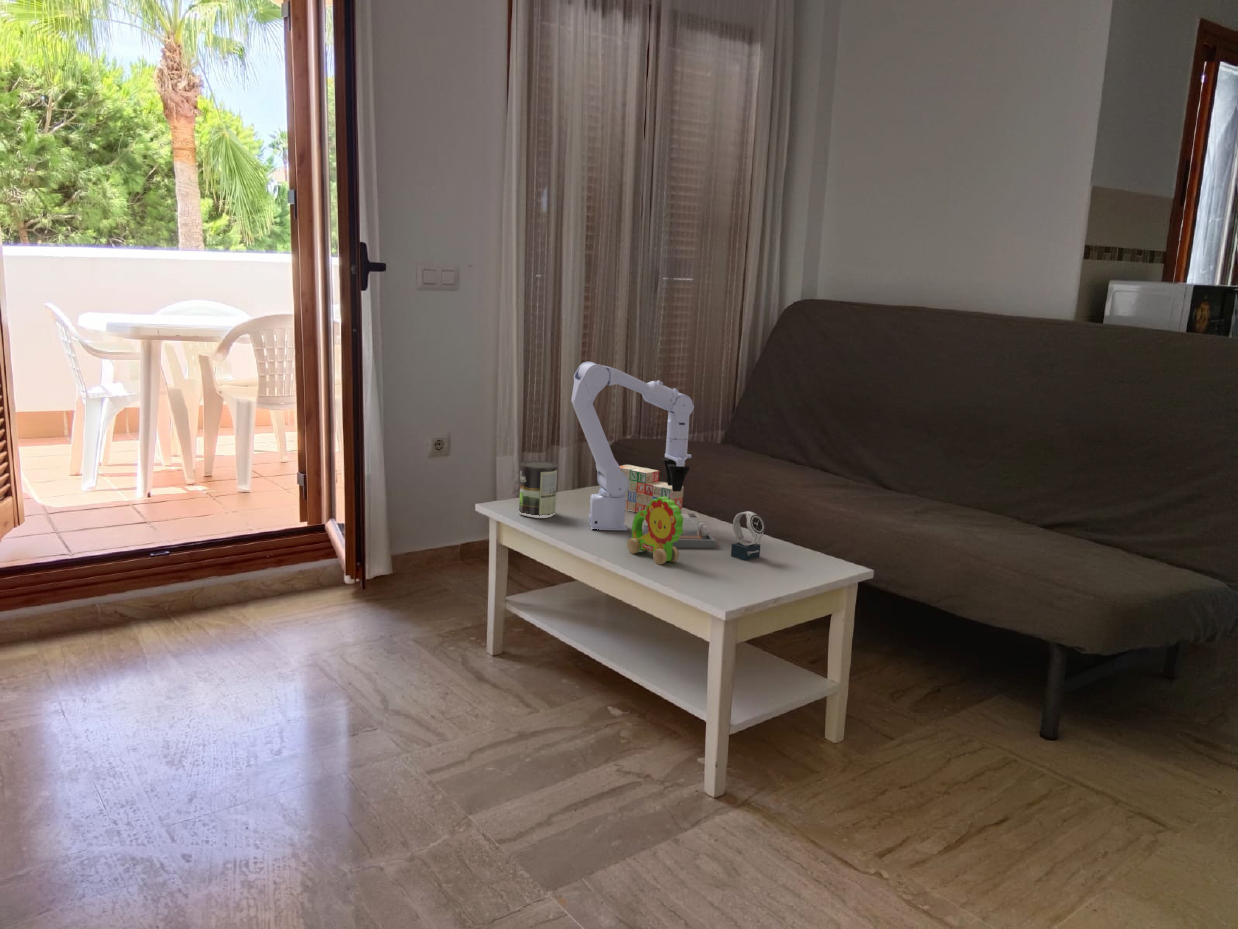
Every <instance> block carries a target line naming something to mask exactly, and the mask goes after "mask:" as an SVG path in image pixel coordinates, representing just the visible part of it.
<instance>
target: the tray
mask: <svg viewBox="0 0 1238 929" xmlns="http://www.w3.org/2000/svg"><path fill="white" fill-rule="evenodd" d="M647 533H648V524H647V525H645V524H643V526H642V534H643V535H645V534H647ZM673 546H674V547H676V548H677V549H679V548H681V549H686V548H688V549H716V539H715V538H714V536H712V534H711V533H710V532H709V526H708V525H706V523H705V522H699V524H698V537H679V539H678V541H677V542H673Z"/></svg>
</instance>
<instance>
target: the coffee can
mask: <svg viewBox="0 0 1238 929" xmlns="http://www.w3.org/2000/svg"><path fill="white" fill-rule="evenodd" d="M519 467H520V473H519V476H520V478H519V501H518V502H519V504H518V505H519V506H518V512H519V511H520V512H521V513H526V514H531V515H539V516H540V515H550V514H553V513H555V514H556V505H557V504H556V501H557V483H558V482H557V481H558V479H557V478H558V469H559V468H558V467H559V464H558V463H556V462H552V461H545V460H528V461H522V462H520V463H519Z"/></svg>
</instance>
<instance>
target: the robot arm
mask: <svg viewBox="0 0 1238 929" xmlns="http://www.w3.org/2000/svg"><path fill="white" fill-rule="evenodd" d="M615 385H618V386H622V387H624V388H626V389H629V390H632V391H634V392H637V393H639V394H641V396H642V398H643V400H644V402H647V403H648V404H651V405H653V406H655V407H658V408H660V409H662V410H665V411H667V412H668V413H667V428H666V431H667V432H666V440H665V441H666V443H665V453H664V458H662V463H663V466H664V470H665V473H666V475H665V476H666V483H667V484H668V485H672V490H673V491H679V492H680V491H681V489H682V486H683V485H684V482H685V480H686V479H685V478H686V476H687V474H688V473H689V471H690V468H691V467H690V466H689V465H686V460H688V459H692V454H688V443H689V430H690V415H691V414H692V412H693V411H694V409H695V405H694V403H693V400H692V398H691V397H690V396H689V395H687V394H684V393H681V392H679V390H678V388H674V387H673V388H670V387H668V386H666V385H665V384H664V382H663V381H660V380H651V381H649V382H645V381H642V380H640V379H639V378H637V377H635V376H633V375H630V374H628V373H626V372H624V371H622V370H619V369H617V368H615V367H612V366H607V365H604V364H603V365H602V364H599V363H595V362H593V361H584V362H582V363H580V365H579V366H578V368H577V370H576V371H575V373H574V374H573V388H572V394H571V405H572V407H573V409H574V411H575V415H576V417H577V420H578V422H579V424H580V427H581V428H582V432H583V434H584V437H585V440H586V442H587V445H588V447H589V449H590V451H591V455H592V457H593V459H594V461H595V470H596V471H597V473H596V474H597V477H596V478H597V480H596V481H597V484H598V486H600V488H599V491H598V493H593V494H590V501H589V514H588V524H589V527H590V526H591V527H590V529H591V530H592V529H597V530H596V531H628V527H627V526H626V524H625V521H626V517H625V516H626V511H625V504H626V492H627V490H628V488H629V479H628V477H627V476H626V475H625V474H624V473H623V472H622V471H621V469H620V467H619V466H620V465H619V463H618V462H617V460H616V459H615V457H614V454H613V451H612V449H611V446H610V443H609V442H608V439H607V437H606V434H605V432H604V429H603V427H602V423H601V421H600V418H599V416H598V414H597V411H596V409H595V406H594V401H595V400H596V398H597V396H598V394H599V393H600V392H601V391H602V390H603V389H604V388H605V387H606V386H615ZM683 487H684V486H683ZM598 529H599V530H598Z"/></svg>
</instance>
